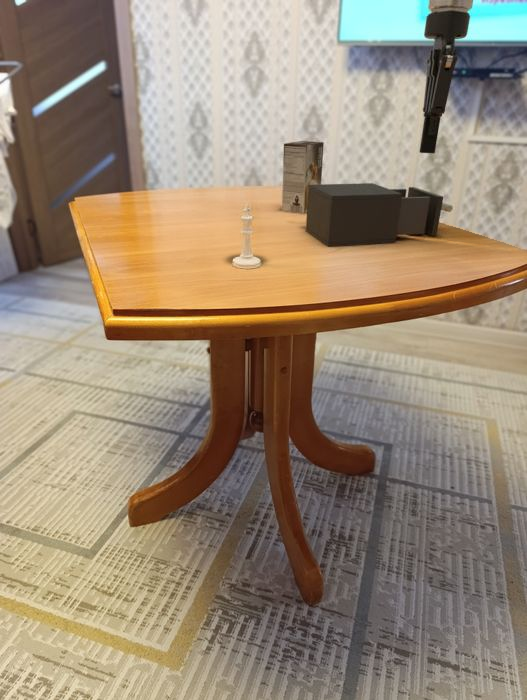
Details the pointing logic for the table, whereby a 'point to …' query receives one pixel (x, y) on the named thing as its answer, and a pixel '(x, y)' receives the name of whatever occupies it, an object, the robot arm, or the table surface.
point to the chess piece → (246, 244)
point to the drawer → (420, 212)
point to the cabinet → (353, 214)
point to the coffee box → (300, 173)
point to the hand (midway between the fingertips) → (427, 152)
